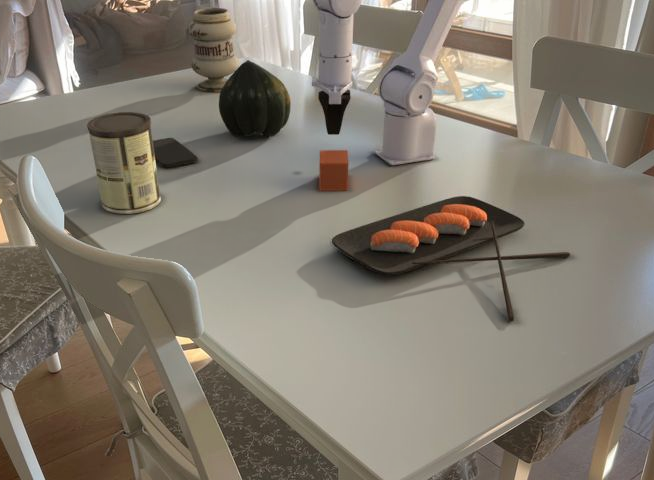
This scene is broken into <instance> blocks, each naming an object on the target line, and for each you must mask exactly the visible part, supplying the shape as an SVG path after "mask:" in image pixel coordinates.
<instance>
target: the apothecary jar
mask: <svg viewBox="0 0 654 480" xmlns="http://www.w3.org/2000/svg"><path fill="white" fill-rule="evenodd" d="M192 19H193V20H192V21H191V22H190V23H189V25H188V33H189V35H190V37H192V38H193V41H194V56H193V58H192V59H191V63H190V65H191V69H192V71H193V72H194V73H195V74H197V75H198V76H201V77H203V78H207V79H205V80H203V81H201V82H199V83H198V84H197V89H198V90H200V91H202V92H213V93H220V92H221V89H222V88H223V86H224V85H225V83H226V82H227V80H228V79H229V78H225V77H228V76H231V75H232V74H233V73H234V72H235V71H236V70H237V69H238V67H239V66H240V60H239V58H238V57H237V55H236V54H234V44H233V36H234V35H235V34H236V31H237V25H236V22H234V20H233V19H231V18H230V14H229V10H228V9H227V8H223V7H209V8H201V9H197V10H194V12H193V18H192Z"/></svg>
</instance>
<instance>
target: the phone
mask: <svg viewBox="0 0 654 480" xmlns="http://www.w3.org/2000/svg"><path fill="white" fill-rule="evenodd" d="M153 147H154V155H155V162H157V164H158V165H160V167H162V168H172V167H177V166H181V165H187V164H193V163H197V162H198V156H197V154H195V153H193V151H191V150H189V148H187V147H186V146H184V144H182V143H181V142H179V141H178V140H177V139H176V138H174V137H166V138H160V139H155V140H154V139H153Z"/></svg>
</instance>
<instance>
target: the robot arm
mask: <svg viewBox="0 0 654 480" xmlns="http://www.w3.org/2000/svg"><path fill="white" fill-rule="evenodd" d="M362 1H363V0H312V2H313V5H314V7H315V9H317V13H318V75H317V76H318V77H317V78H318V79H312V80H311V87H317V88H319V89H320V91H318V98H317V99H318V101H319V103H320V106H321V108H322V111H323V114H324V115H323V116H324V121H325V129H326V133H327V135H330V136H331V135H332V136H333V135H335V136H337V135H338V136H339V135H340V133H341V131H342V125H343V120H344V116H345V112H346V110H347V107H348V105H349V103H350V101H351V98H352V97H351V89H350V88H352V87H353V80H352V71H353V70H352V68H353V43H354V42H353V40H354V39H353V38H354V37H353V36H354V15H355V14H356V13H357V12H358V10H359V9H360V7H361V4H362ZM463 2H464V0H428V2H427V5H426V6H425V9H424V11H423V13H422V16H421V17H420V20H419V22H418V24H417V27H416V29H415V31H414V33H413V35H412V37H411V39H410V42H409V44H408V47H407V49H406V50H405V52H403V53H402V54H401V55H398V56H397V57H396V58H394V59H393V61H392V63H391V65H390V66H389V69H387V70H386V72H384V74H383V75H381V78H380V80H379V82H378V87H377V88H378V89H377V90H378V95H379V97H380V99H381V101H383V108H384V115H383V117H384V118H383V131H382V132H383V134H382V148H379V149H374V150H373V154H375V155H376V156H378V157H379V158H380V159H382V160H383V161H384V162H386V163H387V164H388V165H390V166H398V165H404V164H411V163H416V162H417V163H418V162H423V161H429V160H435V159H436V156H435V155H434V151H435V143H436V133H437V119H436V114H435V112H434V110H433V109H432V108H430V106H431V104H432V102H433V99H434V93H435V87H436V84H437V82H438V80H439V75H438V72H437V69H436V67H435V62H436V60H437V58H438V56H439V53H440V51H441V49H442V47H443V45H444V43H445V40H446V39H447V37H448V34H449V33H450V30H451V28H452V26H453V24H454V22H455V19H456V17H457V15H458V13H459V11H460V9H461V6H462V4H463Z"/></svg>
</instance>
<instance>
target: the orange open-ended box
mask: <svg viewBox="0 0 654 480" xmlns="http://www.w3.org/2000/svg"><path fill="white" fill-rule="evenodd" d="M318 166H319V167H318V168H319V169H318V170H319V173H318V174H319V175H318V176H319V177H318V180H319V181H318V183H319V184H318V190H319V191H320V192H321V191H348V188H349V151H348V150H347V149H341V150H340V149H337V150H336V149H330V150H329V149H325V150H323V149H320V150H319V165H318Z"/></svg>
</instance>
